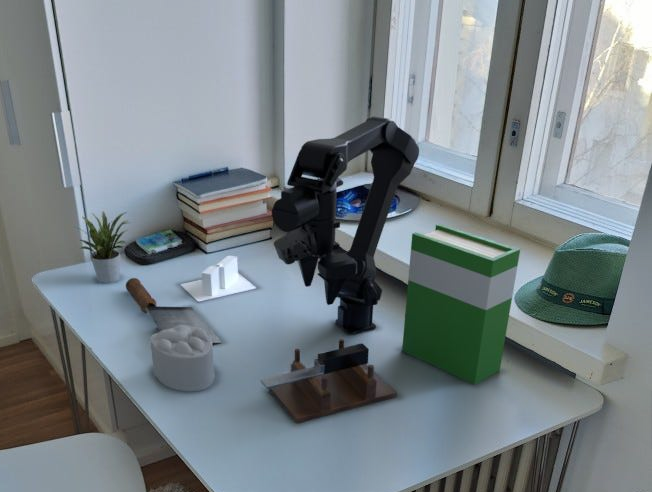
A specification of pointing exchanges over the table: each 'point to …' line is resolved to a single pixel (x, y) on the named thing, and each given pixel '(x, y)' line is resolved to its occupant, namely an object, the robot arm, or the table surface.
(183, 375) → the lumpy-topped squat cylinder
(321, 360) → the kitchen knife
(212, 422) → the table surface
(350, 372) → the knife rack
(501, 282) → the hardback book
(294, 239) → the robot arm
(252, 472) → the table surface
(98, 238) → the house plant
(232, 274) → the napkin holder
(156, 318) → the meat cleaver
